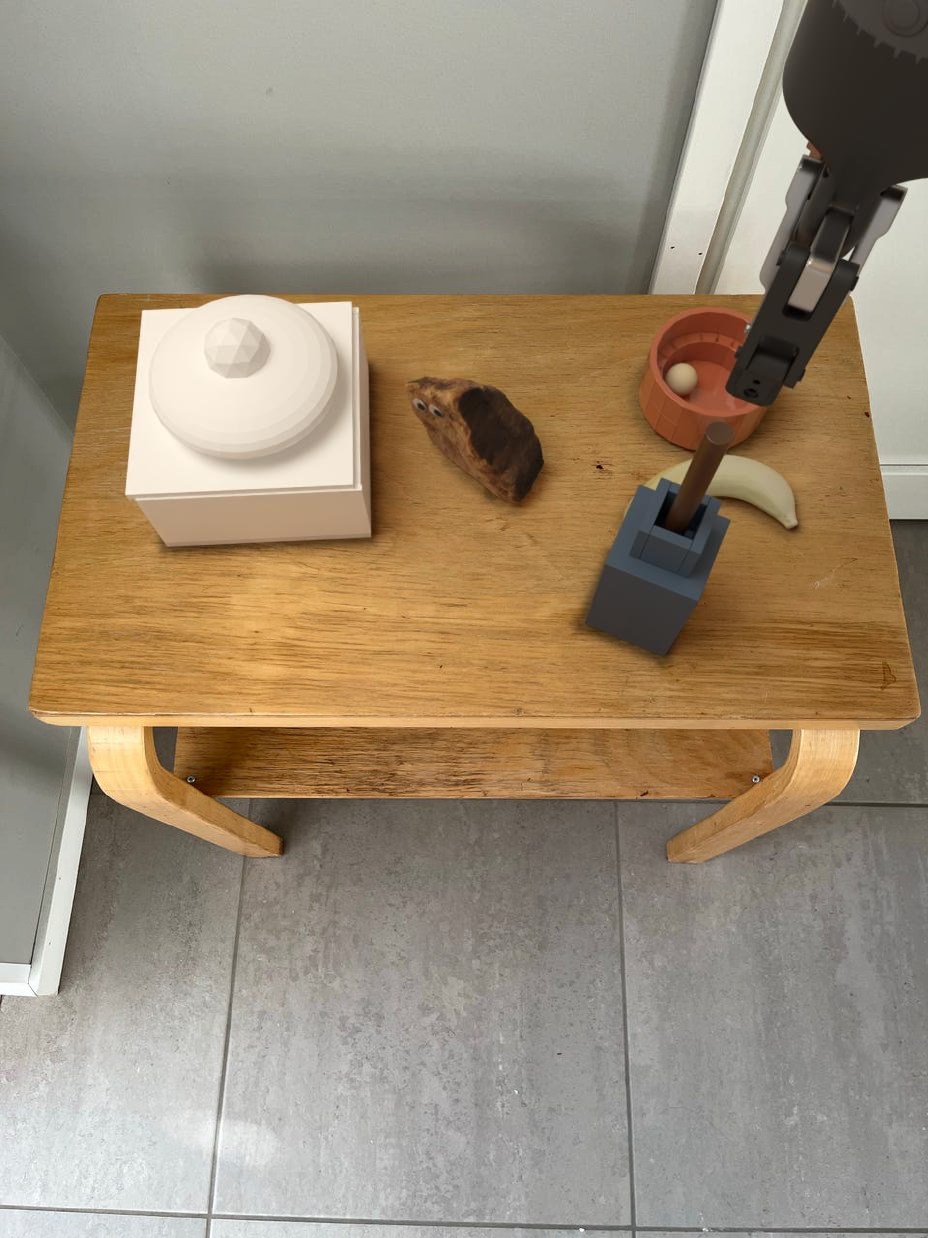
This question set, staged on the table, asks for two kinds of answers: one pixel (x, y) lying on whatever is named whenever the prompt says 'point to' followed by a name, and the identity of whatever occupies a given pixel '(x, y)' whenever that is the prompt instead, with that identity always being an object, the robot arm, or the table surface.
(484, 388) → the decorative rock
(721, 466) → the fruit
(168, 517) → the white lidded box
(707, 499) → the holder
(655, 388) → the bowl
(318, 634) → the table surface
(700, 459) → the stick
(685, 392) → the ball
